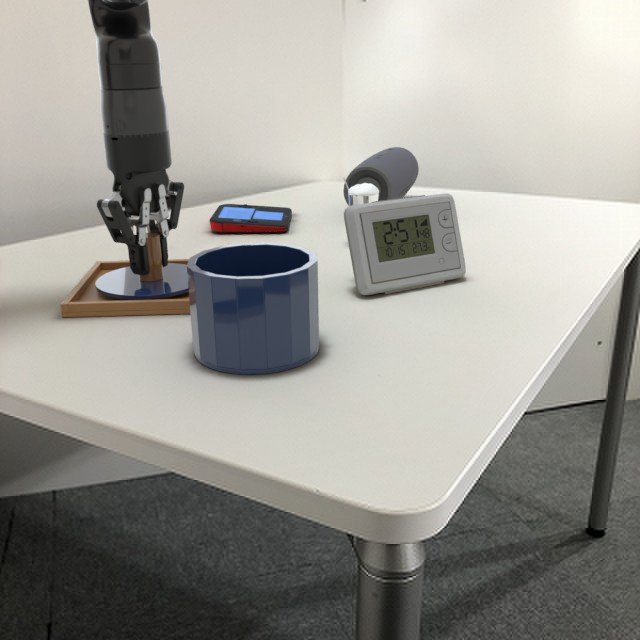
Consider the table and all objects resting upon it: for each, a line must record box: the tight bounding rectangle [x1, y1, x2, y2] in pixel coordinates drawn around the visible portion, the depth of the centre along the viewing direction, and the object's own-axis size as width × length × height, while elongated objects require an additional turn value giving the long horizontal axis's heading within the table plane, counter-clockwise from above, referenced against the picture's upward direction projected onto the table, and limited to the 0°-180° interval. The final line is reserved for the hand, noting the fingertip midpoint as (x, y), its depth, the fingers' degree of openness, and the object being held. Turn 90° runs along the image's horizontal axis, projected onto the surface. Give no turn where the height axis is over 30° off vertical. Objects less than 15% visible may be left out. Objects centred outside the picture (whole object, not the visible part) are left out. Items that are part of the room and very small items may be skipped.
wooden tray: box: [60, 258, 191, 318], centre depth 97 cm, size 18×18×2 cm
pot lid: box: [95, 232, 189, 300], centre depth 96 cm, size 14×14×7 cm
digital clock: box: [343, 193, 467, 296], centre depth 97 cm, size 16×9×11 cm, turn 106°
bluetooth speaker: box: [342, 146, 420, 207], centre depth 138 cm, size 23×9×10 cm, turn 162°
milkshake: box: [342, 176, 379, 207], centre depth 116 cm, size 4×5×10 cm
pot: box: [187, 242, 320, 375], centre depth 78 cm, size 13×13×10 cm
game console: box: [209, 203, 293, 234], centre depth 130 cm, size 14×13×2 cm
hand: (150, 269), depth 97 cm, fingers closed on pot lid, 3 cm apart
